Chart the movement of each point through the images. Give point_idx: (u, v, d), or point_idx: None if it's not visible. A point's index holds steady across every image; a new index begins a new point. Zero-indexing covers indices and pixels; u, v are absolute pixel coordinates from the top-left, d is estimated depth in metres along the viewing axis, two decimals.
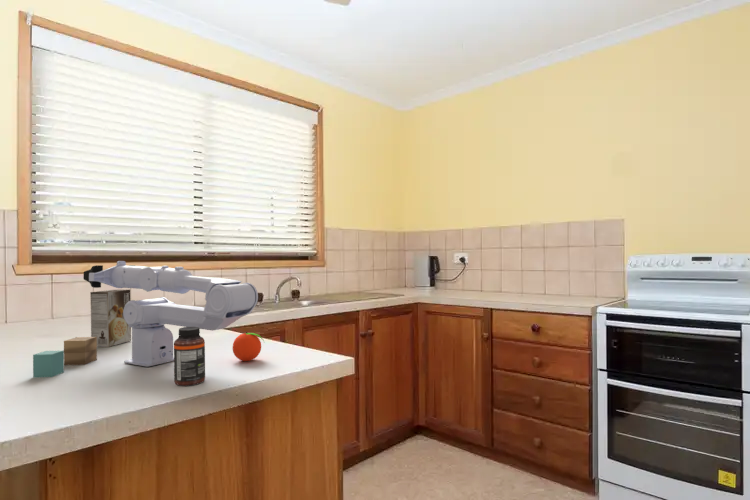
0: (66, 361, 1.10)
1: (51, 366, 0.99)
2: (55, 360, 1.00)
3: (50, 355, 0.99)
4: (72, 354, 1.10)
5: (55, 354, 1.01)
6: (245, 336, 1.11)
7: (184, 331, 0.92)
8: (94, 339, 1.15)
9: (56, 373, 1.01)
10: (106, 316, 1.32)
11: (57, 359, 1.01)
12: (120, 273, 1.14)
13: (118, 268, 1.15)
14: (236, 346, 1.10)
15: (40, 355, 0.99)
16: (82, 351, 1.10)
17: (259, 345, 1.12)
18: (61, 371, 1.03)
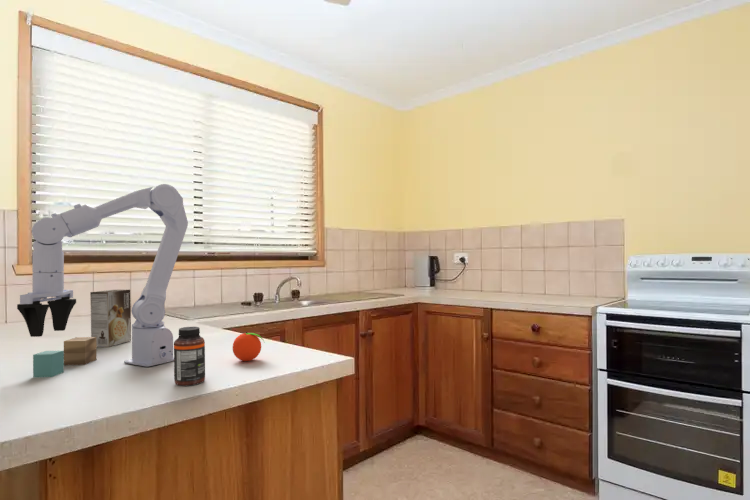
0: (66, 361, 1.10)
1: (51, 366, 0.99)
2: (55, 360, 1.00)
3: (50, 355, 0.99)
4: (72, 354, 1.10)
5: (55, 354, 1.01)
6: (245, 336, 1.11)
7: (184, 331, 0.92)
8: (94, 339, 1.15)
9: (56, 373, 1.01)
10: (106, 316, 1.32)
11: (57, 359, 1.01)
12: (35, 277, 0.99)
13: (32, 286, 0.99)
14: (236, 346, 1.10)
15: (40, 355, 0.99)
16: (82, 352, 1.11)
17: (259, 345, 1.12)
18: (61, 371, 1.03)
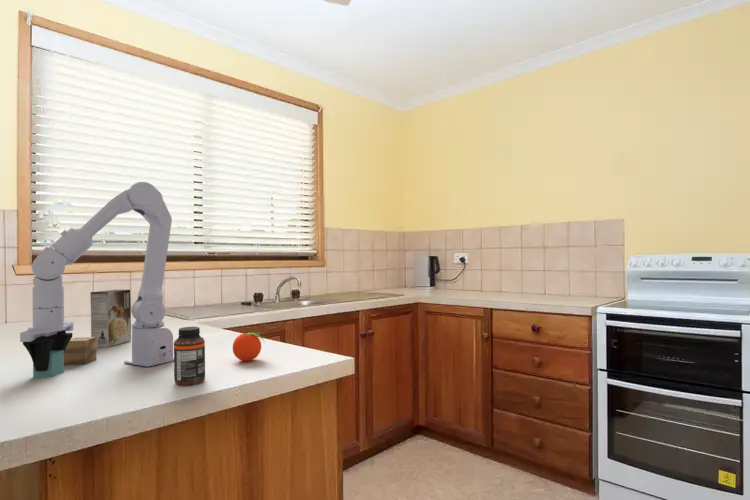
0: (66, 361, 1.10)
1: (51, 366, 0.99)
2: (55, 359, 1.00)
3: (50, 355, 0.99)
4: (72, 354, 1.10)
5: (55, 354, 1.01)
6: (245, 336, 1.11)
7: (184, 331, 0.92)
8: (94, 339, 1.15)
9: (56, 373, 1.01)
10: (106, 316, 1.32)
11: (57, 359, 1.01)
12: (36, 313, 0.99)
13: None
14: (236, 346, 1.10)
15: None
16: (82, 351, 1.11)
17: (259, 345, 1.12)
18: (61, 371, 1.03)
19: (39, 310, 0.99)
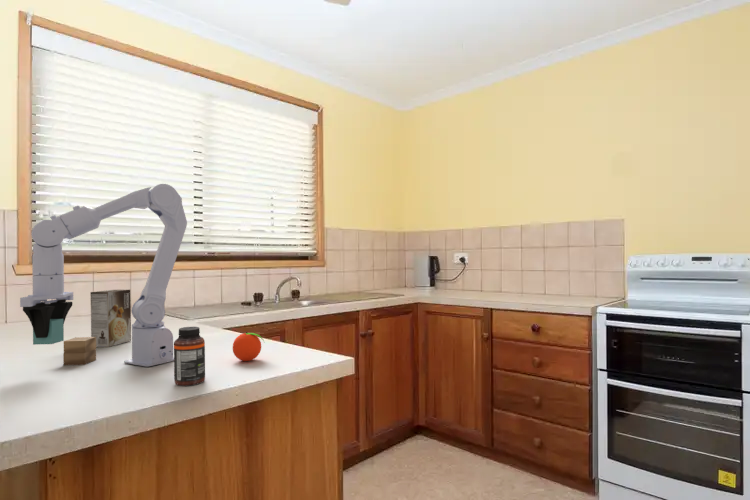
0: (65, 361, 1.10)
1: (51, 333, 0.99)
2: (54, 327, 1.01)
3: (50, 322, 0.99)
4: (72, 354, 1.10)
5: (55, 321, 1.01)
6: (245, 336, 1.11)
7: (184, 331, 0.92)
8: (94, 339, 1.15)
9: (56, 340, 1.01)
10: (106, 316, 1.32)
11: (57, 327, 1.01)
12: (35, 280, 0.99)
13: None
14: (236, 346, 1.10)
15: None
16: (82, 352, 1.11)
17: (259, 345, 1.12)
18: (61, 339, 1.03)
19: (39, 277, 0.99)
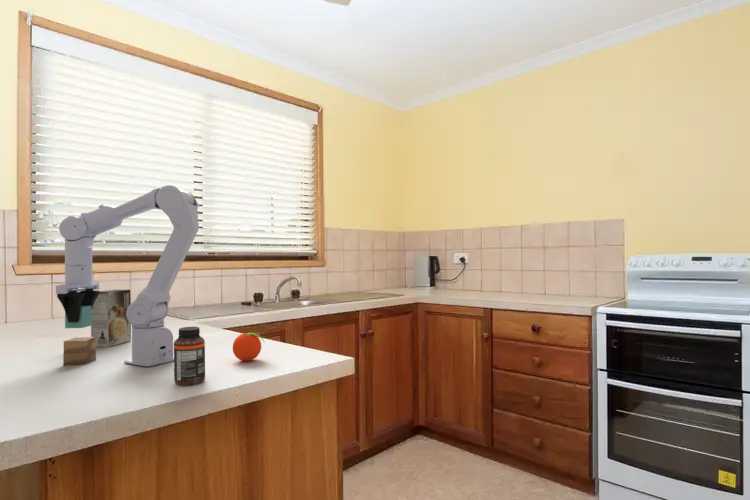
0: (65, 361, 1.10)
1: (81, 318, 1.11)
2: (84, 313, 1.12)
3: None
4: (71, 354, 1.10)
5: (84, 308, 1.12)
6: (245, 336, 1.11)
7: (184, 331, 0.92)
8: (94, 339, 1.15)
9: (85, 325, 1.12)
10: (106, 316, 1.32)
11: (86, 313, 1.12)
12: (68, 270, 1.10)
13: (65, 278, 1.11)
14: (236, 346, 1.10)
15: None
16: (82, 352, 1.10)
17: (259, 345, 1.12)
18: (89, 324, 1.14)
19: (71, 267, 1.10)
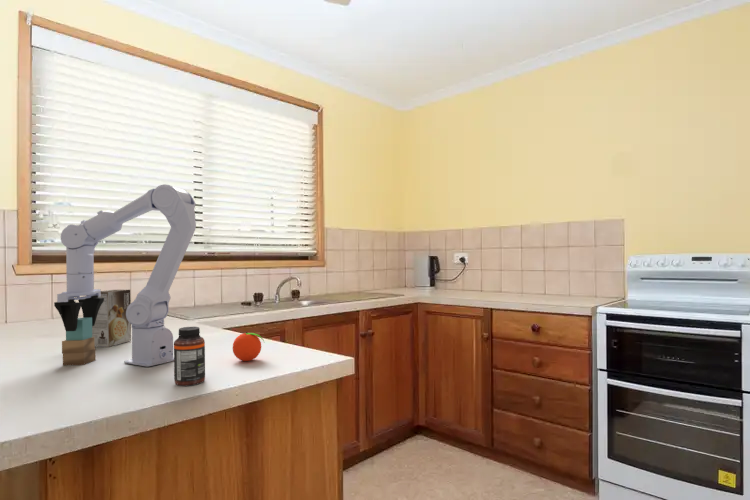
0: (65, 361, 1.10)
1: (82, 330, 1.11)
2: (85, 325, 1.12)
3: (81, 320, 1.11)
4: (71, 354, 1.10)
5: (85, 320, 1.12)
6: (245, 336, 1.11)
7: (184, 331, 0.92)
8: (92, 339, 1.14)
9: (86, 337, 1.12)
10: (107, 316, 1.32)
11: (86, 325, 1.13)
12: (69, 278, 1.10)
13: None
14: (236, 346, 1.10)
15: None
16: (80, 351, 1.10)
17: (259, 345, 1.12)
18: (90, 336, 1.14)
19: (73, 275, 1.10)
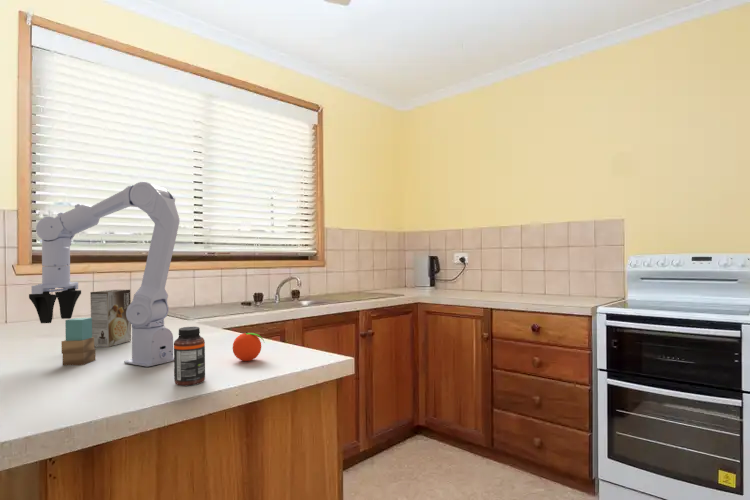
0: (65, 361, 1.10)
1: (81, 330, 1.11)
2: (84, 325, 1.12)
3: (80, 321, 1.11)
4: (71, 354, 1.10)
5: (85, 320, 1.12)
6: (245, 336, 1.11)
7: (184, 331, 0.92)
8: (92, 339, 1.14)
9: (85, 337, 1.12)
10: (106, 316, 1.32)
11: (86, 325, 1.13)
12: (45, 270, 1.10)
13: (42, 278, 1.11)
14: (236, 346, 1.10)
15: (72, 321, 1.11)
16: (80, 352, 1.10)
17: (259, 345, 1.12)
18: (90, 336, 1.14)
19: (48, 267, 1.10)
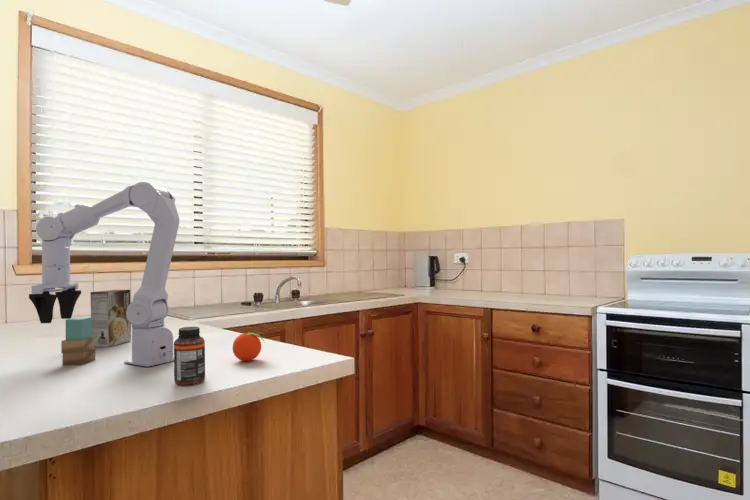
0: (65, 361, 1.10)
1: (81, 330, 1.11)
2: (84, 325, 1.12)
3: (80, 320, 1.11)
4: (71, 354, 1.10)
5: (85, 320, 1.12)
6: (245, 336, 1.11)
7: (184, 331, 0.92)
8: (92, 339, 1.14)
9: (85, 337, 1.12)
10: (106, 316, 1.32)
11: (86, 325, 1.13)
12: (45, 270, 1.10)
13: (42, 278, 1.11)
14: (236, 346, 1.10)
15: (72, 320, 1.11)
16: (80, 351, 1.10)
17: (259, 345, 1.12)
18: (90, 335, 1.14)
19: (48, 267, 1.10)
